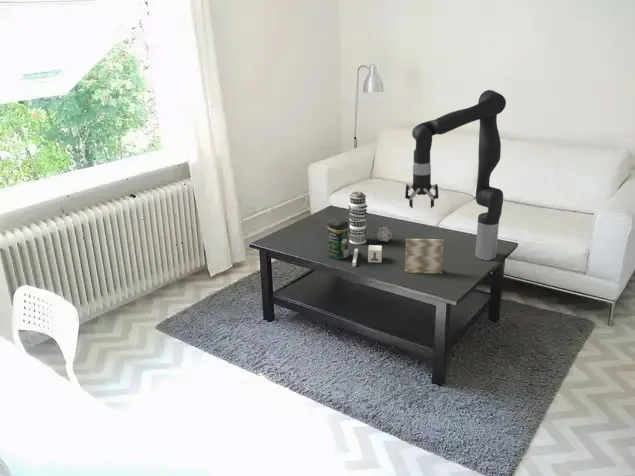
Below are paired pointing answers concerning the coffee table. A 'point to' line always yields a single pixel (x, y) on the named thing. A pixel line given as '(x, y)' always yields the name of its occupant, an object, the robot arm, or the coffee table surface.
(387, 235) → the game die
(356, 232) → the decorative candle
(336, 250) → the coffee jar
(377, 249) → the letter cube
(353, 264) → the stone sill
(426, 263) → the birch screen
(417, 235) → the coffee table surface
